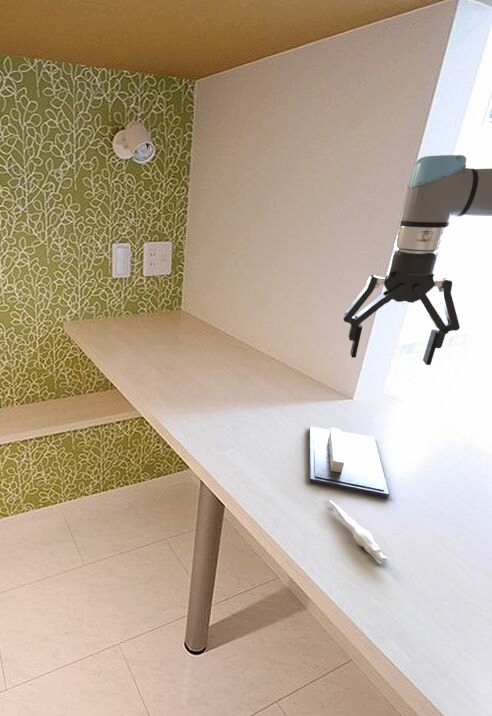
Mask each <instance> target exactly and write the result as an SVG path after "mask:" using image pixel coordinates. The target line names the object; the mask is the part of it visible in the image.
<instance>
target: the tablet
mask: <svg viewBox="0 0 492 716" xmlns="http://www.w3.org/2000/svg"><path fill="white" fill-rule="evenodd" d="M308 429H309V431H308V432H309V434H308V435H309V436H308V437H309V438H308V440H309V442H308V443H309V444H308V445H309V447H308V448H309V449H308V450H309V451H308V453H309V454H308V455H309V456H308V458H309V459H308V461H309V464H308V465H309V467H308V468H309V469H308V470H309V471H308V472H309V475H308V476H309V477H308V478H309V479H308V480H309V481H308V482H309V483H310V484H313V485H314V484H315V485H318V486H319V485H320V486H324V487H329V488H334V489H340V490H344V491H349V492H354V493H358V494H364V495H369V496H374V497H378V498H383V499H389V497H390V492H389V489H388V485H387V480H386V477H385V473H384V470H383V466H382V462H381V458H380V454H379V450H378V447H377V443H376V439H375V437H374V436H368V435H363V434H356V433H351V432H344V431H340V433H341V441H342V449H343V457H344V466H343V470H342V473H341V472H336V471H331V462H330V449H329V433H330V429H326V428H322V427H321V428H320V427H315V426H309V428H308Z"/></svg>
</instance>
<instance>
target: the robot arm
mask: <svg viewBox="0 0 492 716" xmlns="http://www.w3.org/2000/svg"><path fill="white" fill-rule="evenodd" d="M452 217H475V218H479V217H480V218H492V168H470V167H469V168H468V167H467V157H466V156H465V155H462V154H457V155H456V154H442V155H427V156H423V157H420V158H419V159H418V160H417V161H416V162H415V164H414V166H413V169H412V173H411V175H410V180H409V183H408V185H407V191H406V195H405V200H404V205H403V211H402V215H401V220H400V223H399V227H398V229H397V234H396V238H395V243H394V248H395V249H396V250H395V251H394V252H392V256H391V260H390V264H389V268H388V272H387V275H386V276H385V277H381V276H376V275H375V274H370V275H369V277H368V279H367V282H366V284H365V286H364V288H363V289H362V290H361V291H360V293H359V294H358V296H356V298H355V299H354V300H353V302H352V303H351V304H350V305H349V307H348V308H347V310H345V312H344V313H343V315H342V319H343V322H345V323H348V324H350V326H349V331H348V339H349V341H350V342H352V344H351V349H350V356H351V358H355V359H356V357H357V353H358V350H359V344H360V340H361V335H362V330H363V325H362V323H363V322H364V321H365V320H367V319H368V318H369V317H371V316H372V315H373V314H374V313H376V312H377V311H378V310H379V309H381V308H382V307H383V306H384V305H387V304H388V303H390V301H392V300H393V301H394V302H395V303H396V302H397V303H402V302H407V303H412V304H414V303H416V302H418V301H419V303H420V304H421V306H422V307H423V309H424V311H425V312H426V314H427V315H428V317H429V318H430V319H431V321H432V323H433V324H434V325H435V327H436V329H433V328H432V329H431V331H430V335H429V338H428V341H427V344H426V348H425V351H424V355H423V358H422V361H423V362H424V364H425V365H427V366H431V365H432V361H433V358H434V354H435V353H436V349H441V348H442V347H443V344H444V341H445V338H446V335H447V334H449V332H452V331H455V332H457V331H459V330H460V329H461V326H460V323H459V322H460V321H459V319H458V315H457V310H456V307H455V304H454V300H453V296H452V289H453V281H452V280H451V279H449V278H447V277H445V278H442V279H435V274H436V270H437V268H438V267H437V266H438V264H439V260H440V256H441V255H440V253H438V252H439V251H440V250H442V248H443V245H444V241H445V237H446V234H447V230H448V227H449V225H450V220H451V218H452ZM381 285H383V286H384V287H385V288H384V289H385V290H384V291H383V292H382V293H381V294H380V295H379V296H378V297H377V298H376V299H373V301H372V302H371V303H370V304H368V305H366V306H365V308H363V309H362V310H360V308H361V307H362V306H363V305H364V303H365V302H366V301H367V300H368V299H369V297H370V296H371V294H373V292H374V290H375V289H378V288H379V287H380V286H381ZM434 288H435V289H436V291H437V292H439V296H440V299H441V302H442V307H443V310H444V313H445V317H446V318H445V319H446V323H445V322H444V320H443V319H442V317H441V316H440V315H439V313H438V312H437V310H436V308H435V307H434V305H433V303H432V301H431V300H430V298H429V297H428V295H427V294H428V293H429V292H430V291H431V290H432V289H434ZM359 310H360V311H359ZM358 311H359V312H358ZM357 312H358V313H357Z"/></svg>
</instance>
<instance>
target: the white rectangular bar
mask: <svg viewBox="0 0 492 716" xmlns="http://www.w3.org/2000/svg"><path fill="white" fill-rule="evenodd" d="M329 430H330V433H329V449H330V462H331V471H336V472H341V473H342V470H343V466H344V457H343V449H342V441H341V433H340V432H341V429H339V428H337V427H330V429H329Z"/></svg>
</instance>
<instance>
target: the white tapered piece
mask: <svg viewBox="0 0 492 716" xmlns="http://www.w3.org/2000/svg"><path fill="white" fill-rule="evenodd" d="M328 502H329V505H330V506H331V508H332V509H333V511H334V513H336V515H337V516H338V517H339V519H340V520H341V522H342V523H343V524H344V526H345V528H347V530H348V531H349V532H350V533H351V534H352V536H353V539H354V541H355V543H356V544H358V545H359V546H360V547H361V548H362V549H363V550H365V551H366V552H367V553H368V554H369V555H371V556H372V557H373V558H374V560H375V561H376V562H377V564H379V565H383V562H386V561H387V559H388V558H387V557H386V556H385V555H384V554H383V552H382V550H381V548H380V547H379V545H378V544H377V543H376V541H375V539H374V537H373V535H372V533H371V532H369V531H368V530H367V529H365V528H363V527H362V526H360V524H358V523H357V522H356V521H355V520H354V519H353V518H352V517H351V516H349V515H348V514H347V512H345V511H344V510H343V509H342V508H340V506H339V505H337V504H336V503H335V502H333V500H330V499H328Z"/></svg>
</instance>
